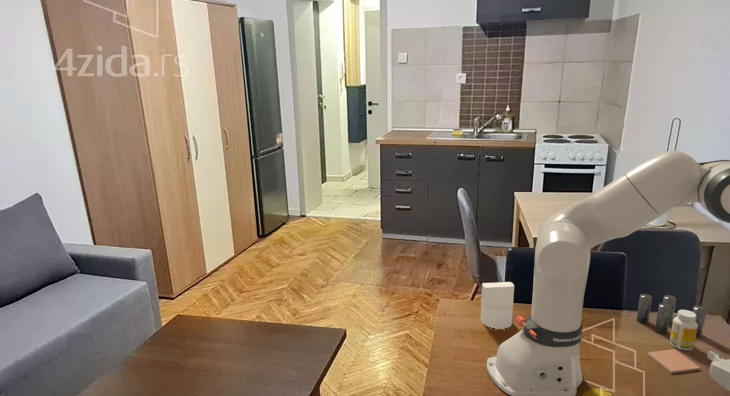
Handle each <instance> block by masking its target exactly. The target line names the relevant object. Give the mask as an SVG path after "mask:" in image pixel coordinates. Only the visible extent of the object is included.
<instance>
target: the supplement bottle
mask: <svg viewBox="0 0 730 396" xmlns="http://www.w3.org/2000/svg"><path fill="white" fill-rule="evenodd" d="M695 320H696V314H695V313H694V312H692V311H691V310H689V309H688V310H687V309H679V310H678V311H677V316H676V317H673V322H672V325H671V326H672V327H671V331H670V336H669V344H670V345H671V346H672V347H673V348H676V349H679V350H681V351H692V350H693V349H694V347H695V342H696V338H697V337H696V332H697V327H698V325H697V323H696V321H695Z"/></svg>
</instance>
